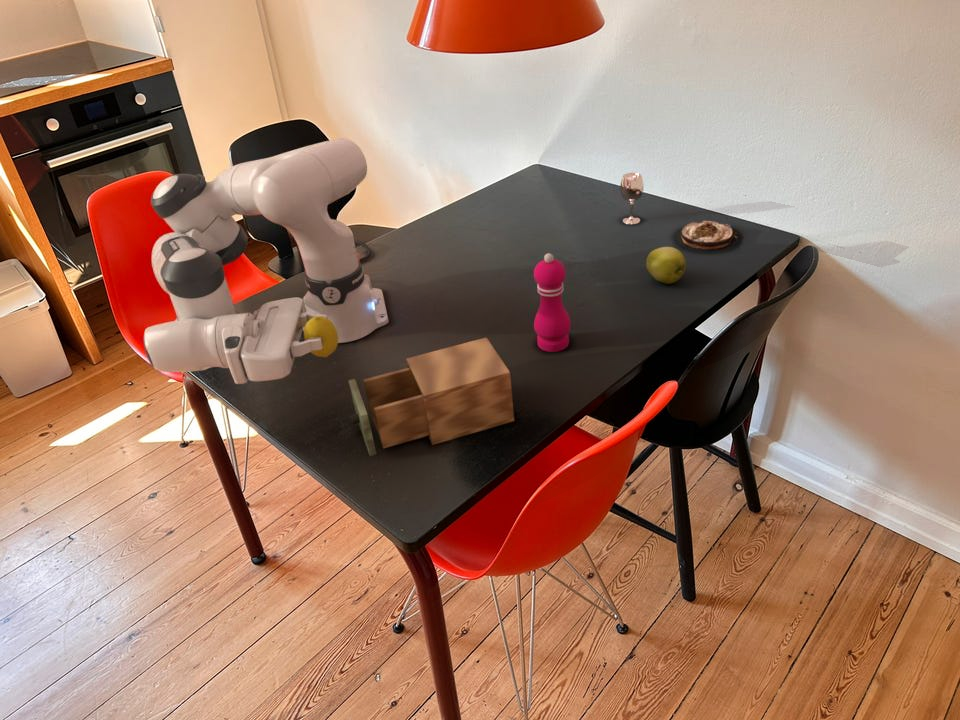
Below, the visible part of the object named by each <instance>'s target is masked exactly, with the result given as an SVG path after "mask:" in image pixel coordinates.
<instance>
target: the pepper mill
mask: <svg viewBox="0 0 960 720" xmlns="http://www.w3.org/2000/svg"><path fill="white" fill-rule="evenodd" d="M566 273H567V272H566V268H565V265H564V264H563V263H562V261H559V260H558V259H555V258H554V254H552V253H550V252H548V253H545V254H544V257H543V260H541V261H539V262H538V263H537V264H536V266H535V267H534V270H533V278H534V281H535V282H536V283H537V284H536V286H537V287H536V288H537V293H538V295H539V297H540V304H539V307H538V310H537V313H536V315H535V317H534V321H533V329H534V332H535V333H536V335H537V338H536V341H537V346H538V348H539V349H540V350H542V351H544V352H548V353H557V352H561V351H563V350H565V349H567V347H568V346H569V344H570V336H569V332H570V331H571V327H572V326H571V325H572V324H571V319H570V318H571V317H570V315H569V314H568V312H567V310H566V309H565V307H564V305H563V302H562V293H563V292H564V289H565V288H564V281H565V279H566Z"/></svg>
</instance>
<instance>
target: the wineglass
mask: <svg viewBox="0 0 960 720" xmlns="http://www.w3.org/2000/svg"><path fill="white" fill-rule="evenodd" d="M621 177H622V178H621V181H620V187H619V190H620V191H619V192H620V196H621V197H622V198H623V199H624V200H626V201H629V209H630V216H627V217H624V218H623V219H622V223H624V224H626V225H637V224H640V222H641V219H640V218H639V217H637V216H634V214H633V209H634V205H635V204H634V201H637V200H640V199H641V197H642V196H643V194H644V189H645V187H644V180H643V176H642V174H641V173H639V172H627V173H624V174H623V175H622V176H621Z"/></svg>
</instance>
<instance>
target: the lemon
mask: <svg viewBox="0 0 960 720" xmlns="http://www.w3.org/2000/svg"><path fill="white" fill-rule="evenodd" d="M314 336H315V337H317V336H321V337H322V339H323V347H322V349H321V350H314V351H311V352H310V353H311V354H312V355H313V356H316V357H319V358H320V357H321V358H328V357H329V356H330V355H332V354H333V353H334V352H335V351H336V349H337V347H338V344H339V343H338V334H337V331H336V329H335V327H334V325H333V323H332V322H331V321H330V320H329V319H327V318H325V317H320V316H315V317H314V318H312V319H310V320H309V321H308V322H307V323H306V325H305V328H304V331H303V340H304V341H307V340H310V339H311V337H314Z"/></svg>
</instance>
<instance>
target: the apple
mask: <svg viewBox="0 0 960 720" xmlns="http://www.w3.org/2000/svg"><path fill="white" fill-rule="evenodd" d="M686 261H687V260H686V258H685V255H684V254H683V253H682V252H681V251H680V249H678V248H675V247H672V246H662V247H658V248H655V249H653V250H652V251H650V252H649V254H648V255H647V258H646V262H645V264H646V265H645V266H646V269H647V271H648V273H649V274H650V276H651V277H652V278H653V279H655V280H656V281H658V282H659V283H662V284H667V285H669V284H671V285H672V284H674V283H677V282H678V281H679V280H680V279H681V278H682V277H683V275H684V274H685V272H686V267H687V262H686Z"/></svg>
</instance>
